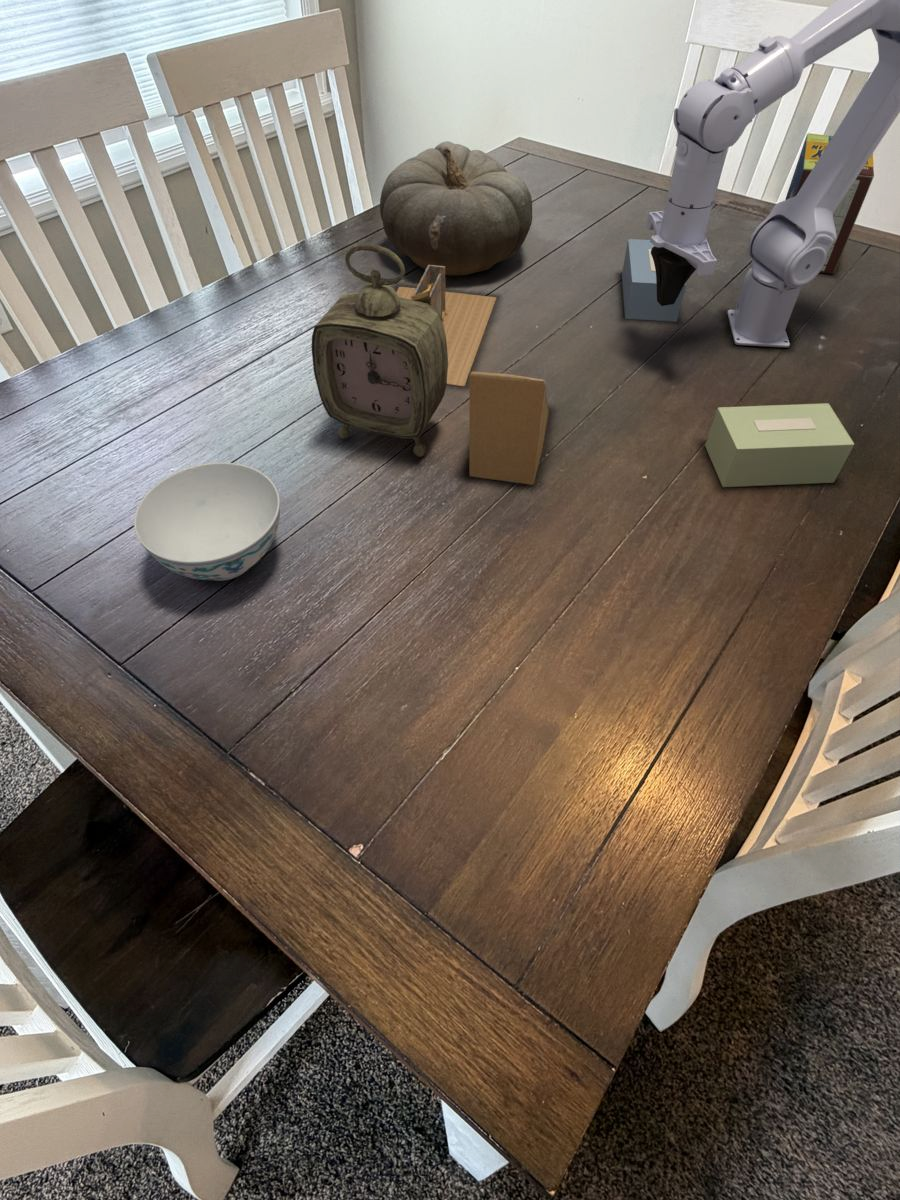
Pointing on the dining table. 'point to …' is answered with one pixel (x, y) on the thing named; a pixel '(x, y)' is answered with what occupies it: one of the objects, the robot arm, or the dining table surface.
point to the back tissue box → (644, 285)
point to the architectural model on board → (432, 288)
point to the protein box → (849, 204)
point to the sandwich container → (506, 426)
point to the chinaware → (209, 520)
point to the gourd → (455, 209)
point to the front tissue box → (777, 445)
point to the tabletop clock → (380, 358)
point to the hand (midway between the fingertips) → (665, 302)
